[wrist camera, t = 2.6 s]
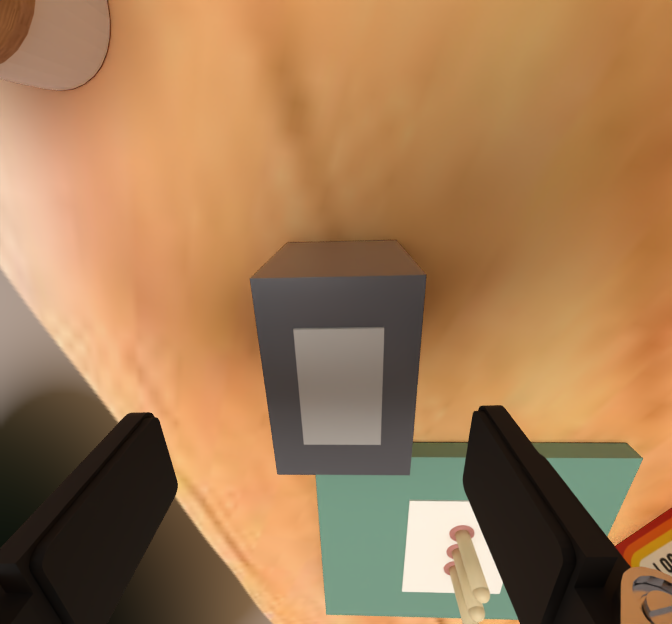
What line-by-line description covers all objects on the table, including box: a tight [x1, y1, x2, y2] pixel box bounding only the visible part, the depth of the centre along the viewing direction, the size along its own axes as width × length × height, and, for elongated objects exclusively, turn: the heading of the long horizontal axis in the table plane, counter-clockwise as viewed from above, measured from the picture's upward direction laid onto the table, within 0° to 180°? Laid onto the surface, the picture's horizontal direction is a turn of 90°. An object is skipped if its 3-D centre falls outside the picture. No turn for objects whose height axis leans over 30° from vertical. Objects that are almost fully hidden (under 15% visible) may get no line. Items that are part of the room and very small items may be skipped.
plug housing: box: [250, 240, 426, 475], centre depth 14 cm, size 6×8×7 cm, turn 2°
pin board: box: [316, 443, 643, 624], centre depth 21 cm, size 20×18×5 cm
